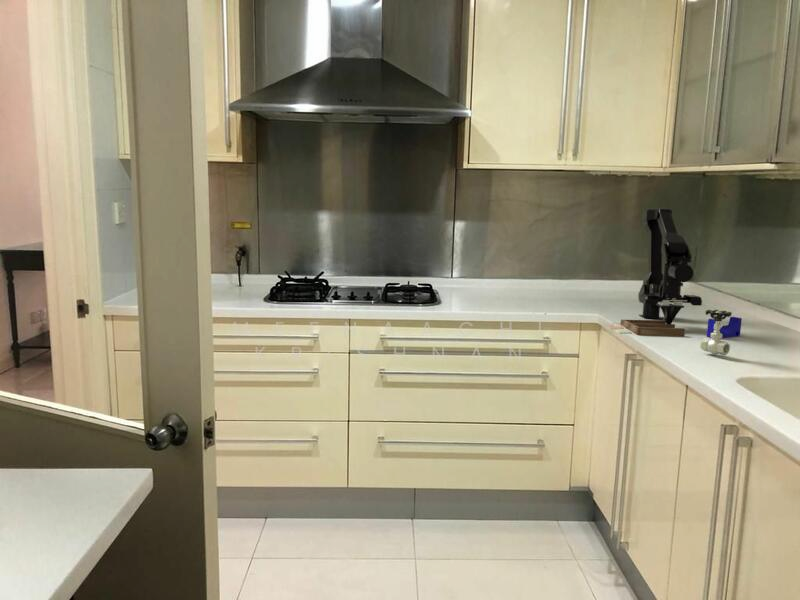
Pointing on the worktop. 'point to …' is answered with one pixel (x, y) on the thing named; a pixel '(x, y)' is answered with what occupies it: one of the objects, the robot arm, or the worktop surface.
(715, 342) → the valve
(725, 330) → the cable clip
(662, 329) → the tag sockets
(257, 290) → the worktop surface
